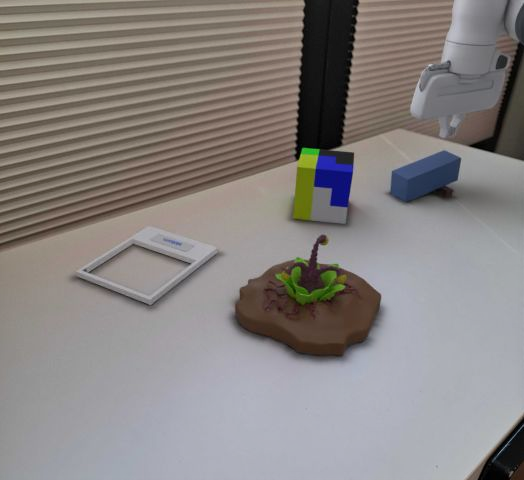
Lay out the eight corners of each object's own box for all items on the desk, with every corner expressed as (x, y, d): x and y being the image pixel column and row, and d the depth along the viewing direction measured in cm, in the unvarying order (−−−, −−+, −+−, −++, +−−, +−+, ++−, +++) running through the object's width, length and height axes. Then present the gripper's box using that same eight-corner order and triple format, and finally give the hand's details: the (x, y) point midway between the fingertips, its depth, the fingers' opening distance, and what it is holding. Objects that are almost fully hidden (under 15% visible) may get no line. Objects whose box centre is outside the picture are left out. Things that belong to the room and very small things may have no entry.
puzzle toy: (345, 223, 96) (353, 172, 90) (293, 218, 97) (297, 166, 91) (346, 201, 104) (354, 152, 97) (298, 196, 105) (302, 147, 98)
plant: (398, 301, 77) (415, 235, 70) (338, 372, 65) (351, 301, 58) (287, 260, 86) (292, 196, 78) (215, 316, 73) (213, 247, 66)
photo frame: (217, 246, 86) (149, 298, 74) (217, 252, 87) (150, 305, 75) (149, 224, 91) (75, 270, 79) (149, 230, 92) (76, 276, 80)
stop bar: (422, 180, 113) (424, 174, 112) (452, 196, 107) (454, 189, 106) (416, 182, 113) (417, 175, 112) (445, 198, 107) (447, 191, 106)
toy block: (444, 149, 108) (391, 170, 104) (461, 157, 105) (407, 179, 101) (441, 172, 112) (390, 193, 108) (457, 180, 108) (405, 202, 105)
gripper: (436, 68, 87) (418, 149, 96) (517, 57, 95) (494, 134, 104) (411, 60, 91) (396, 139, 100) (491, 51, 99) (471, 125, 108)
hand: (447, 136), depth 102 cm, fingers closed
